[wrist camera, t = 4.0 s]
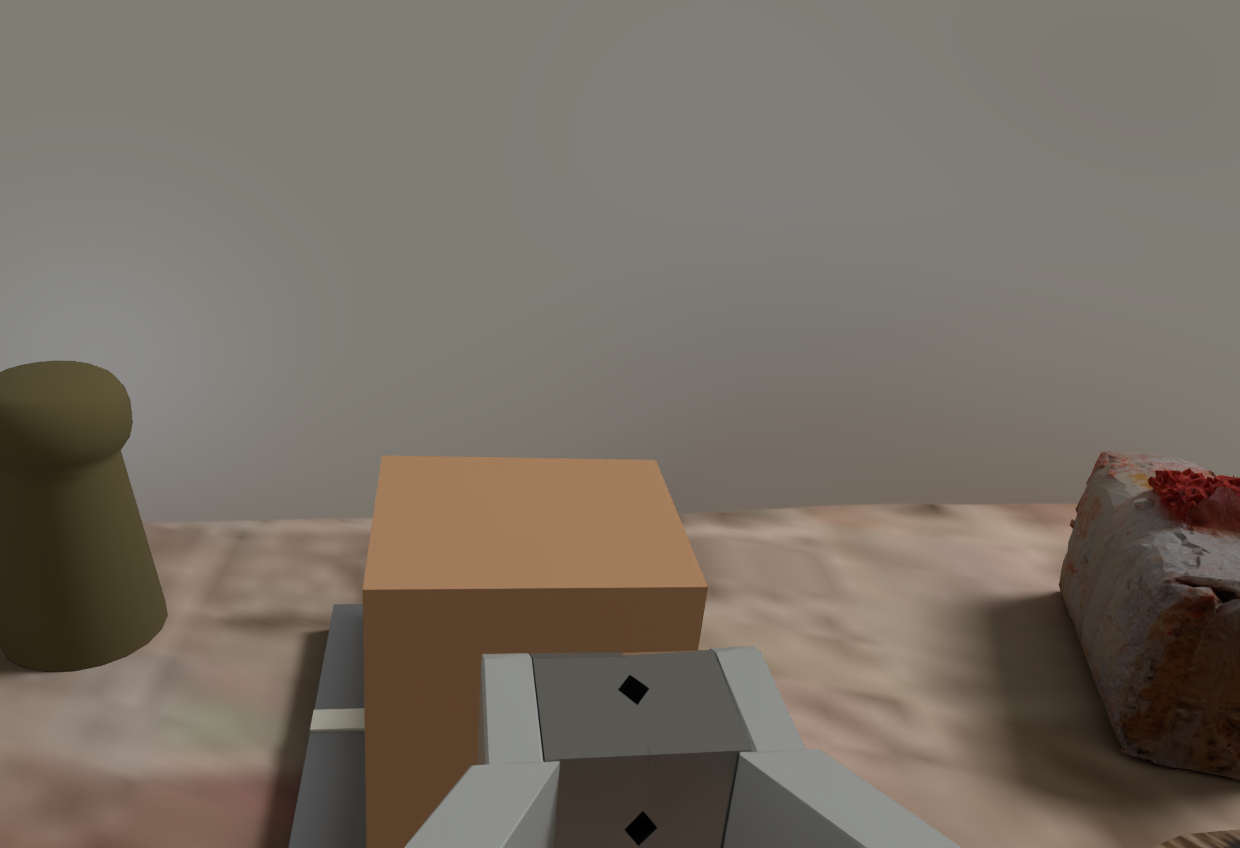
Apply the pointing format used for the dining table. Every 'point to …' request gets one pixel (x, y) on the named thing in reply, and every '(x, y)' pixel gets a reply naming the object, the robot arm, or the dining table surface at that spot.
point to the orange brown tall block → (502, 600)
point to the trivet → (1205, 840)
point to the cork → (70, 522)
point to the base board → (336, 744)
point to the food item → (1161, 606)
